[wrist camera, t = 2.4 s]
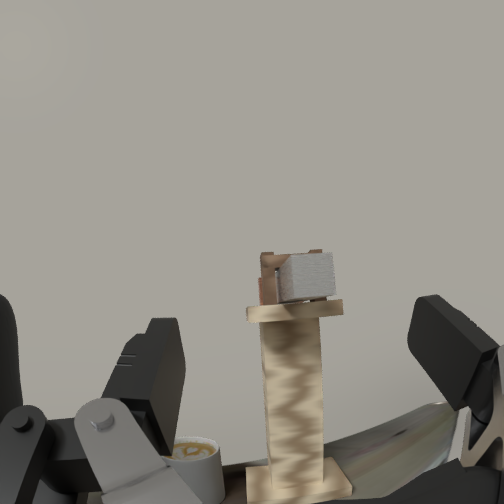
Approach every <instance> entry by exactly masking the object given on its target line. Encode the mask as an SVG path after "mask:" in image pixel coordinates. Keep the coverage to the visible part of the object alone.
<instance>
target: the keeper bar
mask: <svg viewBox="0 0 504 504" xmlns="http://www.w3.org/2000/svg"><path fill="white" fill-rule="evenodd" d="M275 278H276V292H277V305H278V304H291V303H302V302H304V301H307V300H312V299H317V298H322V297H327V296H332V295H335V294H336V288H335V277H334V266H333V257H332V253H314V254H297V255H290V256H289V258H288V259H287V260H286V261H285V262H284V264H283V265H282V266H281V267H280V268H279V269H278V271H277V272H276V273H275ZM258 282H259V298H260V306H263V292H262V278H259V279H258Z"/></svg>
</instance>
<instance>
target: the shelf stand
mask: <svg viewBox="0 0 504 504" xmlns="http://www.w3.org/2000/svg"><path fill="white" fill-rule="evenodd" d="M314 253H322V249H318V250H310V251H309V252H308V253H301V254H314ZM290 255H297V254H283V255H274V253H273V252H262V253H261V256H260V262H261V277H262V292H263V306H251V307H247V308H246V313H247V321H248V322H249V323H255V322H259V324H260V340H261V356H262V371H263V387H264V404H265V418H266V419H265V420H266V436H267V452H268V466H256V467H246V483H247V504H312V503H317V502H323V501H328V500H333V499H338V498H342V497H346V496H351V495H352V485H351V484H350V482H349V481H348V479H347V478H346V476H345V475H344V474H343V472H342V471H341V469H340V468H339V466H338V465H337V463H336V462H335V460H334V459H333V457H328V458H323V390H322V363H321V343H320V327H319V317H326V316H335V315H343V303H342V299H338V300H328V301H327V299H326V297H322V298H317V299H312V300H310V302H307V303H306V302H305V303H293V304H280V305H277V292H276V278H275V271H278V269H279V268H280V267H281V266H282V265H283V264H284V262H285V261H286V260H287V259H288V258H289V256H290Z"/></svg>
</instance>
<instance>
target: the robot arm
mask: <svg viewBox="0 0 504 504" xmlns="http://www.w3.org/2000/svg"><path fill="white" fill-rule="evenodd" d="M407 339H408V340H407V341H408V347H409V350H410V351H411V353H412V354H413V356H414V357H415V358H416V359H417V361H418V362H419V363H420V365H421V366H422V367H423V369H424V370H425V371H426V373H427V374H428V375H429V377H430V378H431V379H432V381H433V382H434V383H435V385H436V386H437V387H438V389H439V390H440V392H441V393H442V394H443V396H444V397H445V398H446V400H447V401H448V403H449V404H450V405H451V407H452V408H453V410H454V411H457V410H460V409H462V408H464V407H467V406H469V408H470V410H469V411H468V413H467V416H466V422H465V432H464V440H463V448H462V454H461V459H460V461H459V459H458V458H456V459H454V460H452V461H450V462H447V463H445V464H443V465H441V466H438V467H436V468H434V469H431V470H429V471H427V472H424V473H422V474H421V475H419V476H418V477H416V478H415V479H413V480H412V481H410V482H409V483H407V484H406V485H404V486H403V487H401V488H400V489H398V490H396V491H395V492H393V493H391V494H390V495H388V496H386V497H383V498H373V499H355V500H330V501H324V502H319V503H313V504H504V345H502V346H499V345H498V344H497V343H496V342H495V341H494V340H493V339H492V338H490V336H488V335H487V334H486V333H485V332H484V331H483V330H482V329H481V328H479V327H477V325H476V324H475V323H474V322H473V321H470V319H469V318H468V317H467V316H466V315H465V314H463V313H462V312H461V311H459V310H457V309H455V308H453V307H452V306H451V305H450V304H449V303H448V302H446V301H445V300H444V299H443V298H441V297H440V296H439V295H430V296H423V297H419V298H418V299H417V300H416V302H415V305H414V310H413V315H412V319H411V324H410V328H409V332H408V338H407ZM185 371H186V368H185V357H184V352H183V347H182V342H181V337H180V331H179V326H178V322H177V319H176V318H152V319H151V321H150V323H149V326H148V328H147V330H146V333H145V334H136V335H135V336H134V337H133V338H131V339H130V340H129V341H128V342H127V343H126V345H125V347H124V349H123V351H122V353H121V356H120V357H119V359H118V362H117V365H116V366H115V368H114V370H113V372H112V374H111V376H110V379H109V381H108V383H107V385H106V387H105V390H104V392H103V394H102V397H101V398H100V399H95V400H92V401H90V402H88V403H86V404H85V405H83V406H82V407H81V408H80V409H79V410H78V412H77V414H76V416H75V418H67V419H57V420H47V418H46V417H45V415H44V414H43V412H42V411H41V410H40V409H39V408H37V407H35V406H31V405H24V406H23V398H22V391H21V383H20V373H19V356H18V336H17V327H16V321H15V316H14V313H13V310H12V307H11V305H10V303H9V301H8V300H7V299H6V298H5V297H4V296H2V295H1V294H0V504H86V502H87V498H88V493H89V492H98V491H103V494H101V498H102V501H103V503H104V504H203V503H202V501H201V500H200V499H199V498H198V497H197V496H196V495H195V494H194V492H193V491H192V490H191V489H190V488H189V487H188V485H187V484H186V483H185V482H184V481H183V479H182V478H181V477H180V476H179V475H178V473H177V472H176V471H175V470H174V469H173V468H172V467H171V466H170V465H169V466H167V464H166V463H165V462H164V461H163V459H162V458H161V457H160V456H172V453H173V447H174V440H175V434H176V427H177V421H178V415H179V408H180V403H181V397H182V391H183V385H184V379H185Z"/></svg>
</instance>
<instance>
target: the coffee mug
mask: <svg viewBox="0 0 504 504" xmlns="http://www.w3.org/2000/svg"><path fill="white" fill-rule="evenodd" d="M160 457H161V458H162V459H163V461H164V462H165V463H166V464H167V466H169V465H170V466H171V467H172V468H173V469H174V470H175V471H176V472H177V473H178V475H179V476H180V477H181V478H182V479H183V481H184V482H185V483H186V484H187V485H188V487H189V488H190V489H191V490H192V491H193V492H194V494H195V495H196V496H197V497H198V498H199V499H200V500H201V501H202V503H203V504H220V503H221V502H222V501H223V500H224V498H225V488H224V480H223V472H222V464H221V456H220V448H219V445H218V443H217V442H215V441H214V440H211V439H209V438H204V437H193V436H187V437H177V438H175V440H174V447H173V453H172V456H160Z"/></svg>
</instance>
